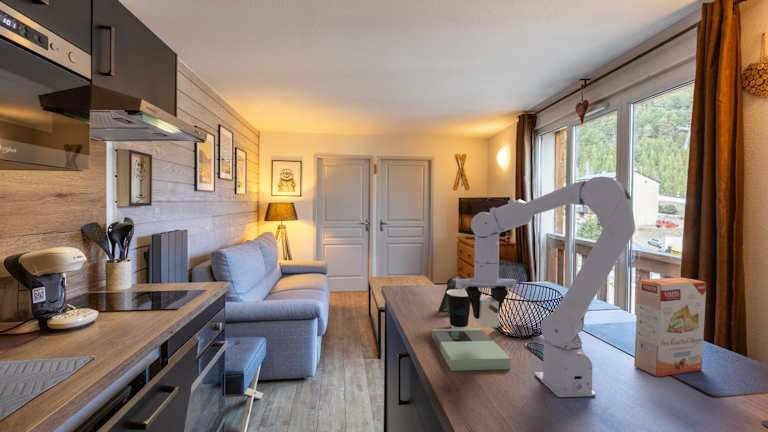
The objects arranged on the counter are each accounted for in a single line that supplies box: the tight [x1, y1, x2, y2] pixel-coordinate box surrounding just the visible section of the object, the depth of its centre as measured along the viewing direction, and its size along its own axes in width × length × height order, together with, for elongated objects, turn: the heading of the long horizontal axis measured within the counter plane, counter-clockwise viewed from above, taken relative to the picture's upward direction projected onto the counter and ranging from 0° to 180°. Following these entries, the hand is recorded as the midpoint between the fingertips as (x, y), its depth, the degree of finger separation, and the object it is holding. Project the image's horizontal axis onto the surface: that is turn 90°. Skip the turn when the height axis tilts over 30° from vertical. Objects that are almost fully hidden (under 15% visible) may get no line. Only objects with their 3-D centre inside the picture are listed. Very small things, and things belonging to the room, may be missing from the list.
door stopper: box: [438, 275, 463, 314], centre depth 125 cm, size 9×6×12 cm, turn 57°
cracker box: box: [633, 277, 707, 378], centre depth 81 cm, size 14×6×21 cm, turn 105°
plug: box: [472, 294, 500, 329], centre depth 84 cm, size 10×4×6 cm, turn 4°
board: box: [432, 327, 512, 372], centre depth 90 cm, size 20×14×2 cm
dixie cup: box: [446, 289, 471, 329], centre depth 108 cm, size 8×8×11 cm
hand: (485, 317), depth 85 cm, fingers closed on plug, 4 cm apart
